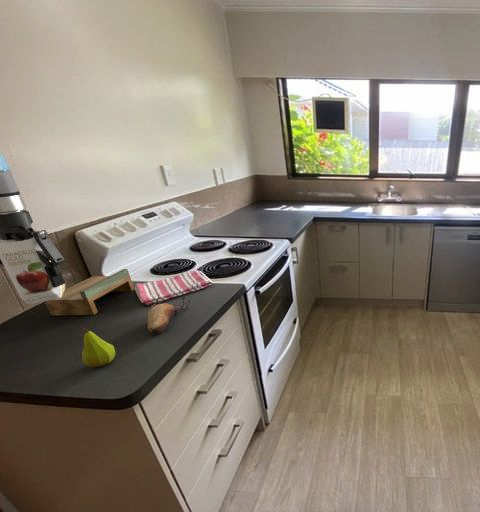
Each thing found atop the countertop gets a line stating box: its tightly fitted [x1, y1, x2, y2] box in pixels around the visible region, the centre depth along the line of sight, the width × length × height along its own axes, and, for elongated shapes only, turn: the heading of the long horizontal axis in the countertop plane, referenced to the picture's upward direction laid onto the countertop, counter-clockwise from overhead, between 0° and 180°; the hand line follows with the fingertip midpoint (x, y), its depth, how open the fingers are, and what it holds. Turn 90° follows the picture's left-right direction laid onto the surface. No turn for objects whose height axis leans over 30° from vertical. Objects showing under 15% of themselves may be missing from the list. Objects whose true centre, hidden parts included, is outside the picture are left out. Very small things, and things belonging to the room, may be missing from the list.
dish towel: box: [133, 270, 214, 306], centre depth 114 cm, size 17×23×4 cm
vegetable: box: [146, 294, 191, 335], centre depth 91 cm, size 16×11×10 cm
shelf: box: [43, 268, 135, 316], centre depth 104 cm, size 14×18×9 cm
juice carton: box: [0, 238, 66, 305], centre depth 84 cm, size 8×9×19 cm
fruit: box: [80, 327, 116, 368], centre depth 74 cm, size 6×6×12 cm
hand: (41, 285), depth 86 cm, fingers closed on juice carton, 9 cm apart
